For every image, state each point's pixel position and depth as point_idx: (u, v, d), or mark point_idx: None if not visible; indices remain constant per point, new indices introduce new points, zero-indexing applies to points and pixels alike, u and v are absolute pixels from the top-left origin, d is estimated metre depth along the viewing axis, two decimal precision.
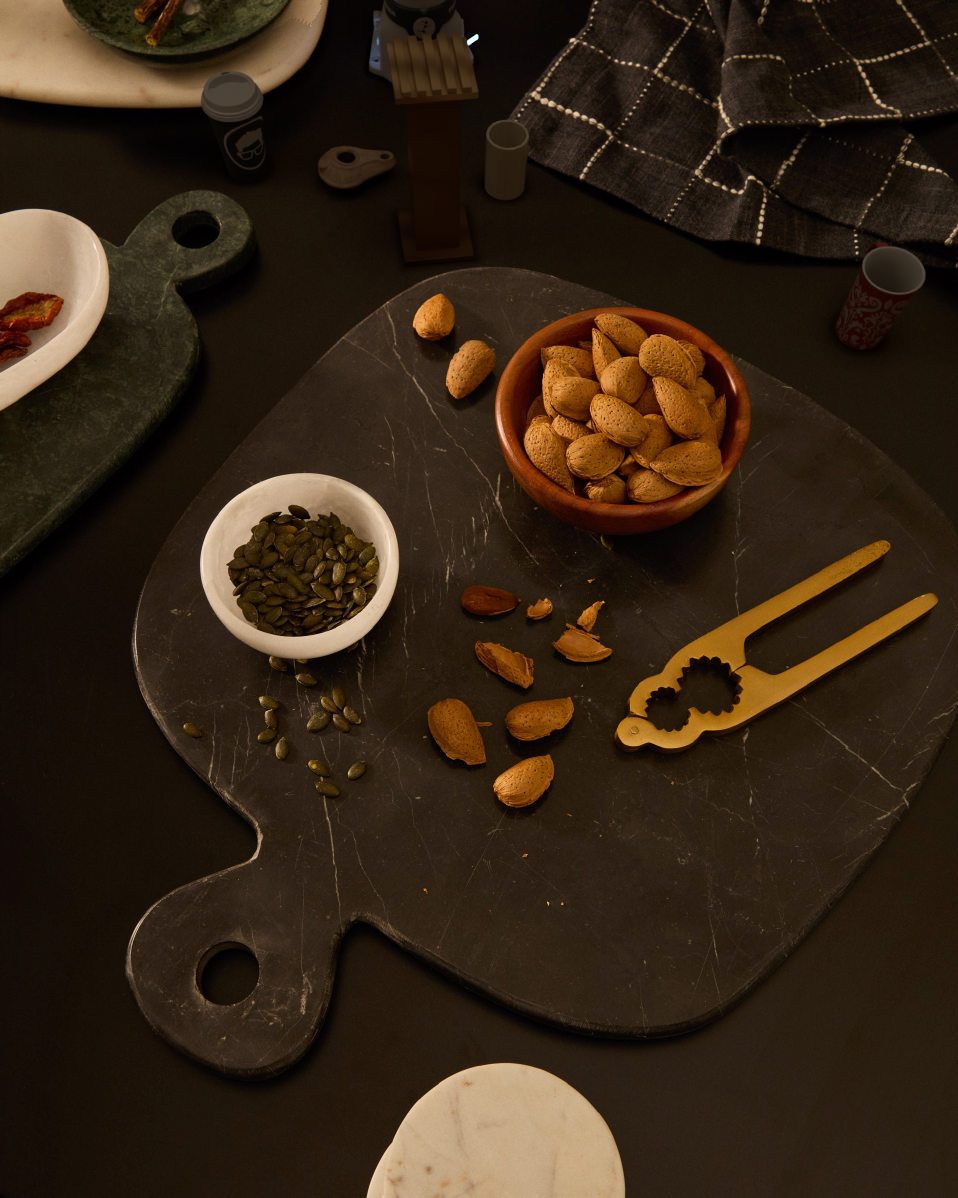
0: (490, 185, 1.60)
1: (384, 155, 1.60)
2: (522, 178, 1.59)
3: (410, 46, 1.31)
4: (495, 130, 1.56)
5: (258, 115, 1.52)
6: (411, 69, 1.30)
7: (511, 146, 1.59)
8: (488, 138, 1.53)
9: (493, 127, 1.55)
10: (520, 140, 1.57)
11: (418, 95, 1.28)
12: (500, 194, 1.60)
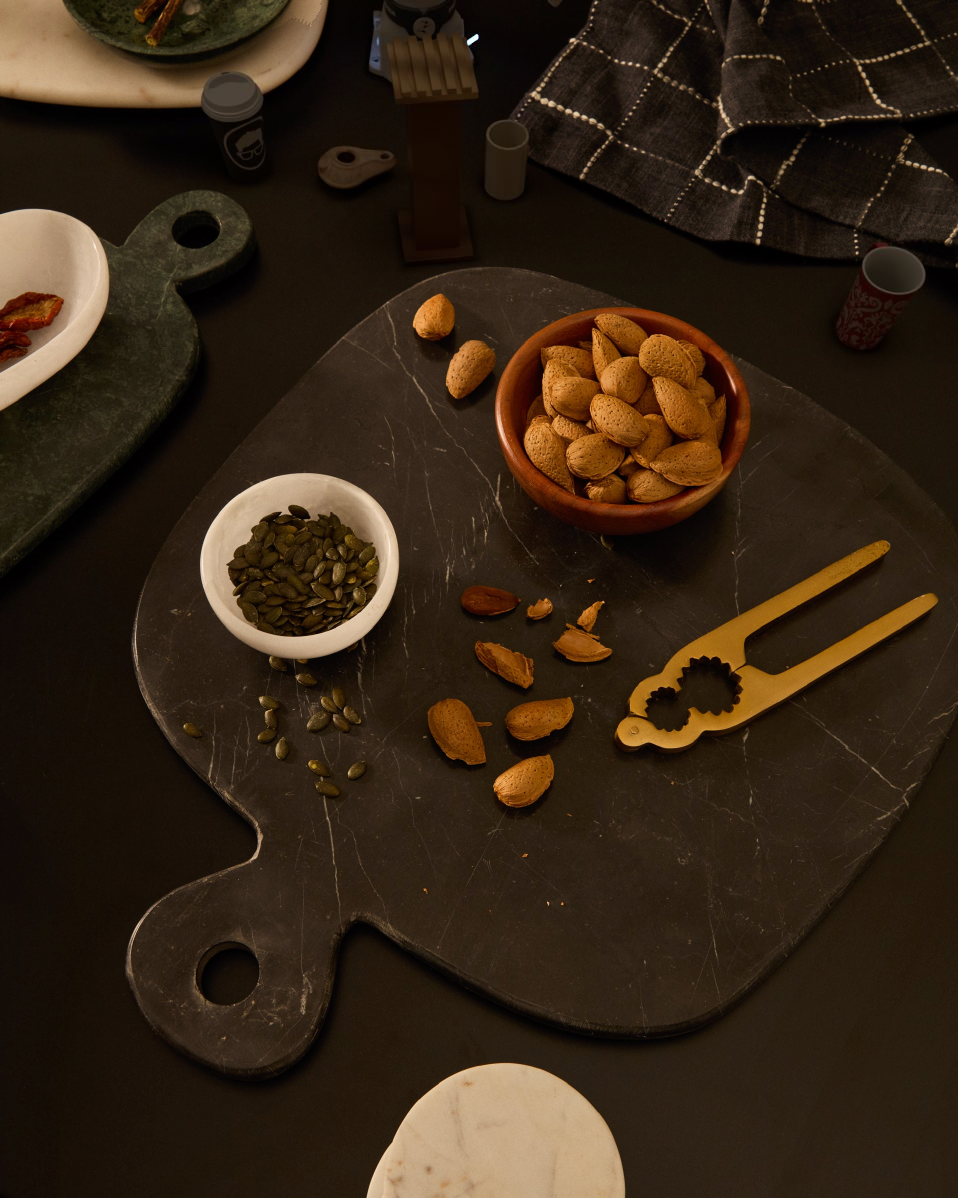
0: (490, 185, 1.60)
1: (384, 155, 1.60)
2: (522, 178, 1.59)
3: (410, 46, 1.31)
4: (495, 130, 1.56)
5: (258, 115, 1.52)
6: (411, 69, 1.30)
7: (511, 146, 1.59)
8: (488, 138, 1.53)
9: (493, 127, 1.55)
10: (520, 140, 1.57)
11: (418, 95, 1.28)
12: (500, 194, 1.60)
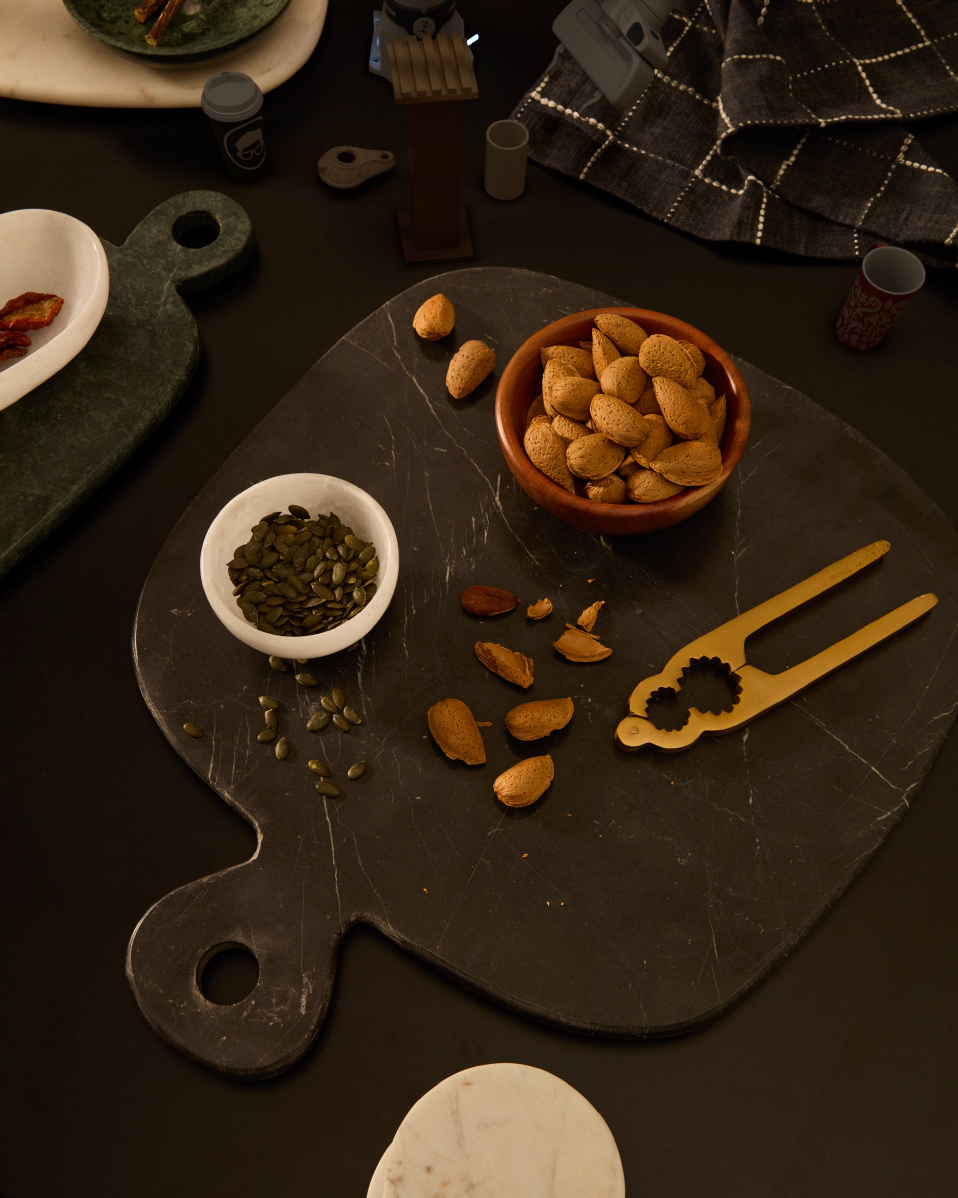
0: (490, 185, 1.60)
1: (384, 155, 1.60)
2: (522, 178, 1.59)
3: (410, 46, 1.31)
4: (495, 130, 1.56)
5: (258, 115, 1.52)
6: (411, 69, 1.30)
7: (511, 146, 1.59)
8: (488, 138, 1.53)
9: (493, 127, 1.55)
10: (520, 140, 1.57)
11: (418, 95, 1.28)
12: (500, 194, 1.60)
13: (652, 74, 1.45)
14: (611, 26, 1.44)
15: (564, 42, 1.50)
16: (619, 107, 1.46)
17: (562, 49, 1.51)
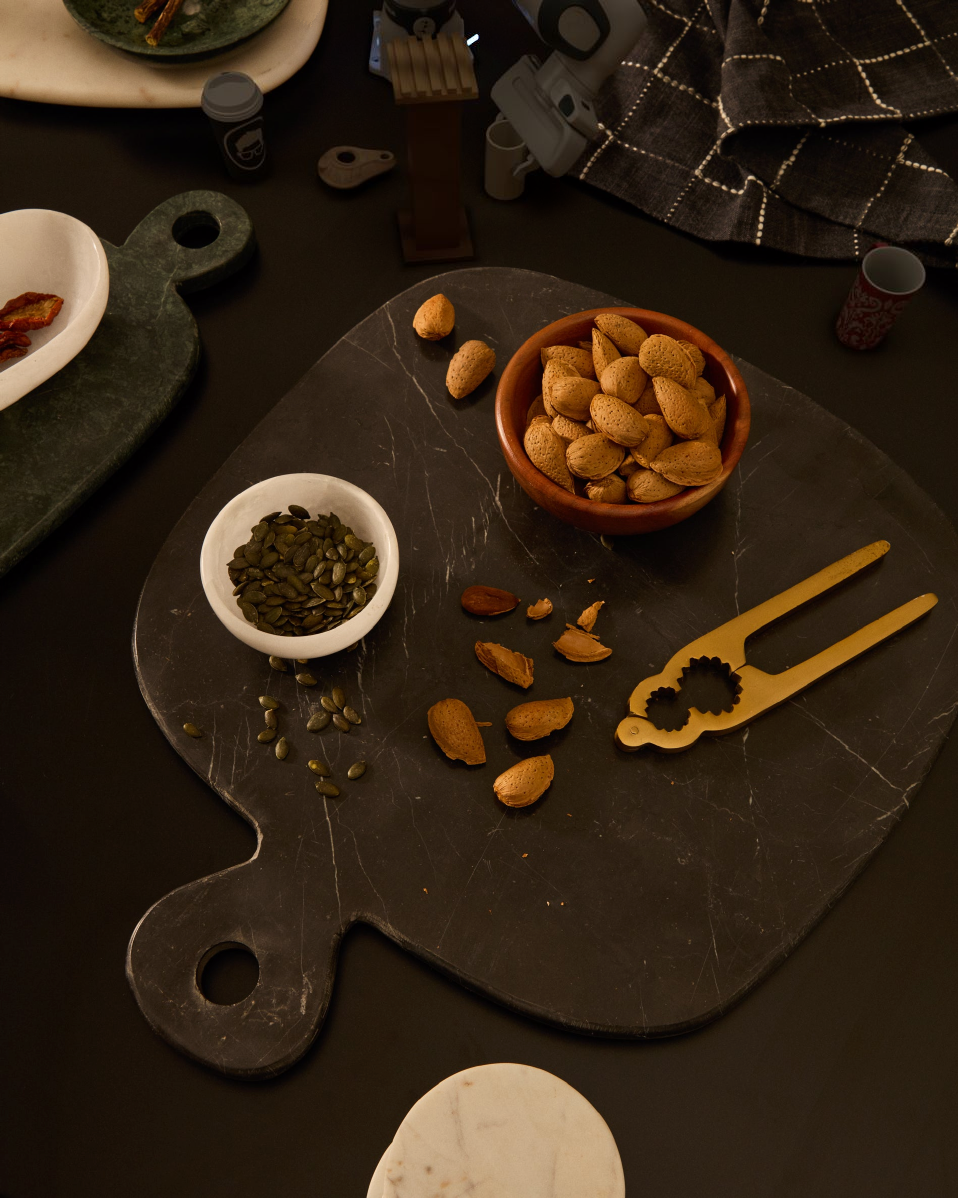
0: (490, 185, 1.60)
1: (384, 155, 1.60)
2: (522, 178, 1.59)
3: (410, 46, 1.31)
4: (495, 130, 1.56)
5: (258, 115, 1.52)
6: (411, 69, 1.30)
7: (511, 146, 1.59)
8: (488, 138, 1.53)
9: (493, 127, 1.55)
10: (520, 140, 1.57)
11: (418, 95, 1.28)
12: (500, 194, 1.60)
13: (584, 143, 1.50)
14: (544, 96, 1.49)
15: (501, 109, 1.56)
16: (553, 174, 1.51)
17: (502, 117, 1.57)
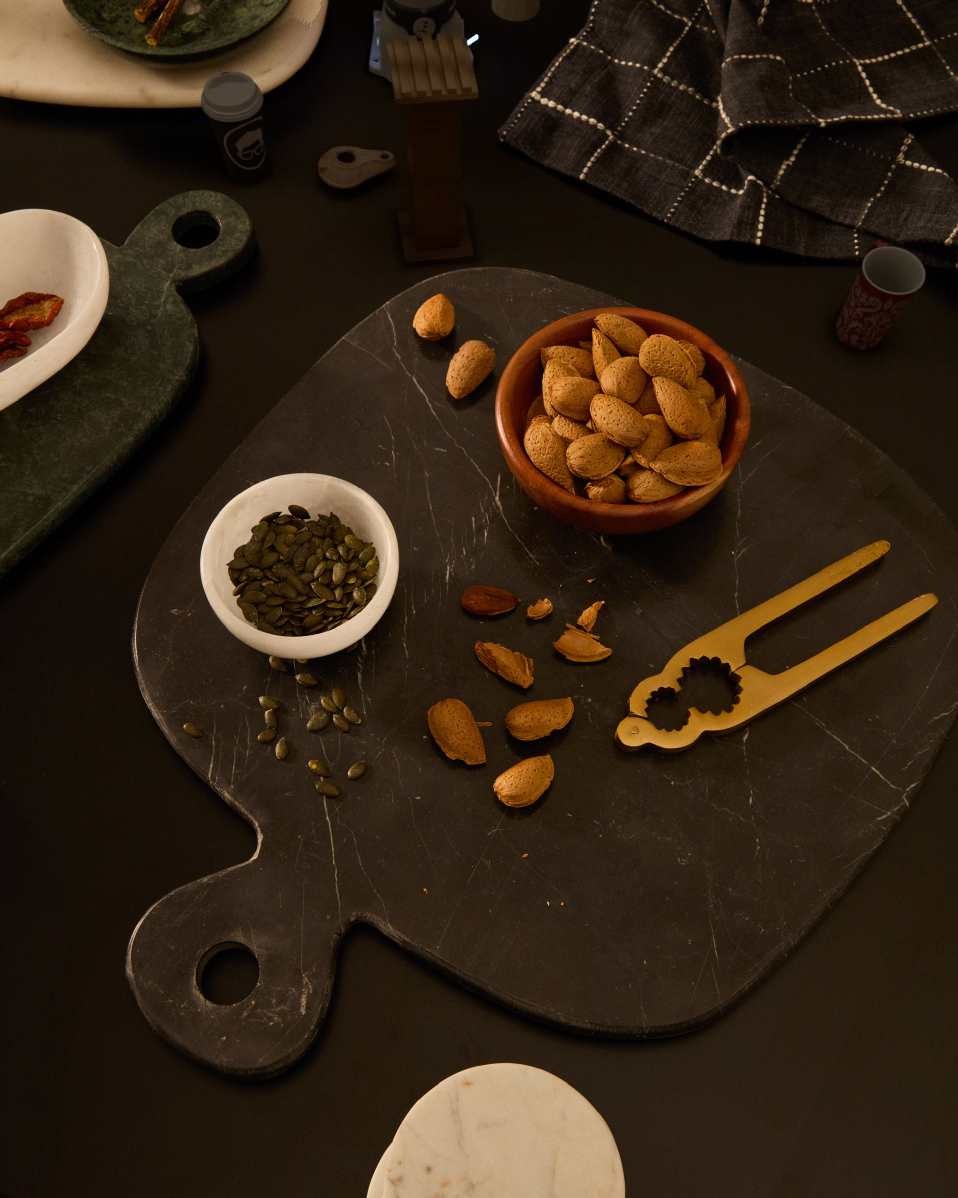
0: (498, 1, 1.32)
1: (384, 155, 1.60)
2: None
3: (410, 46, 1.31)
4: None
5: (258, 115, 1.52)
6: (411, 69, 1.30)
7: None
8: None
9: None
10: None
11: (418, 95, 1.28)
12: (510, 13, 1.32)
13: None
14: None
15: None
16: None
17: None
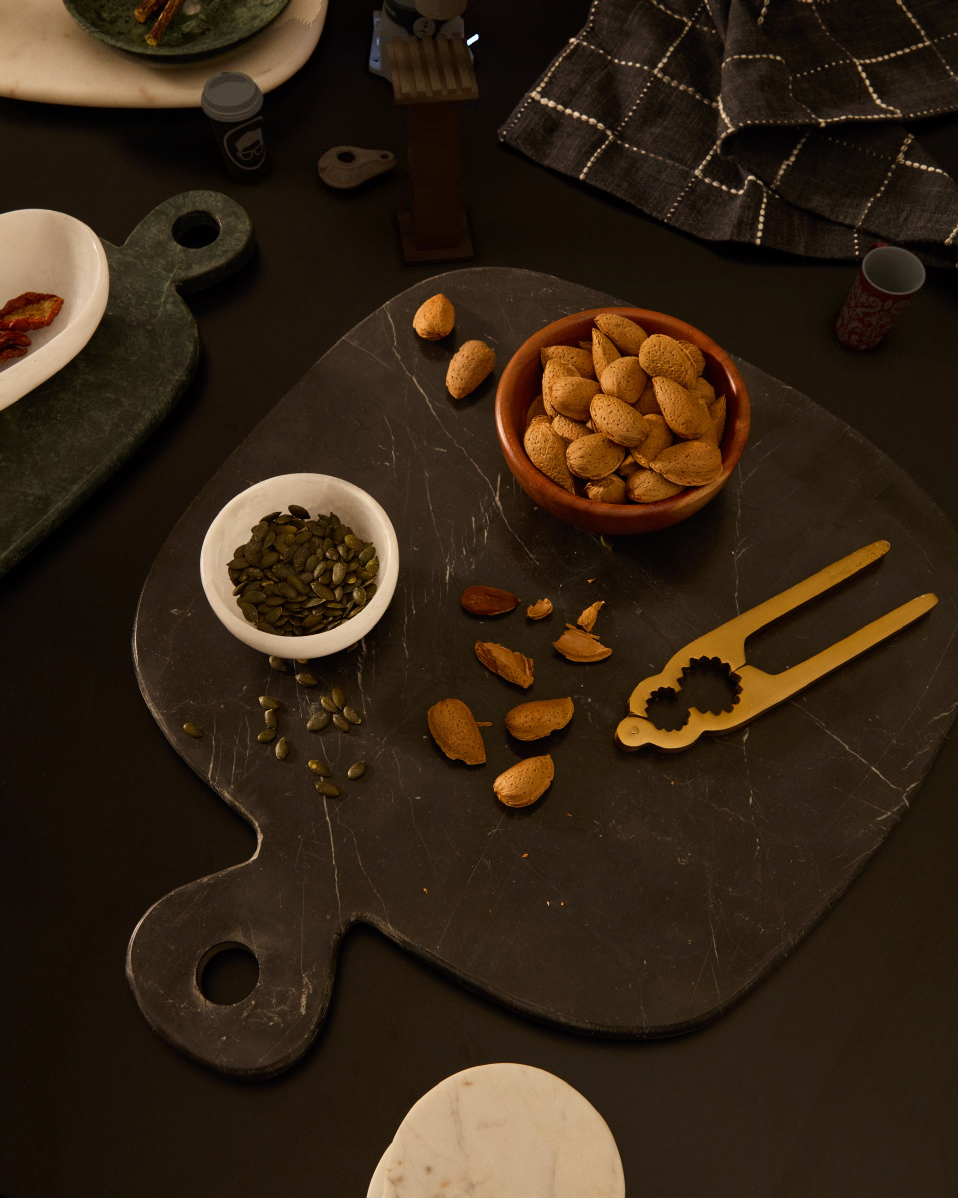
0: None
1: (384, 155, 1.60)
2: None
3: (410, 46, 1.31)
4: None
5: (258, 115, 1.52)
6: (411, 69, 1.30)
7: None
8: None
9: None
10: None
11: (418, 95, 1.28)
12: (434, 10, 1.21)
13: None
14: None
15: None
16: None
17: None
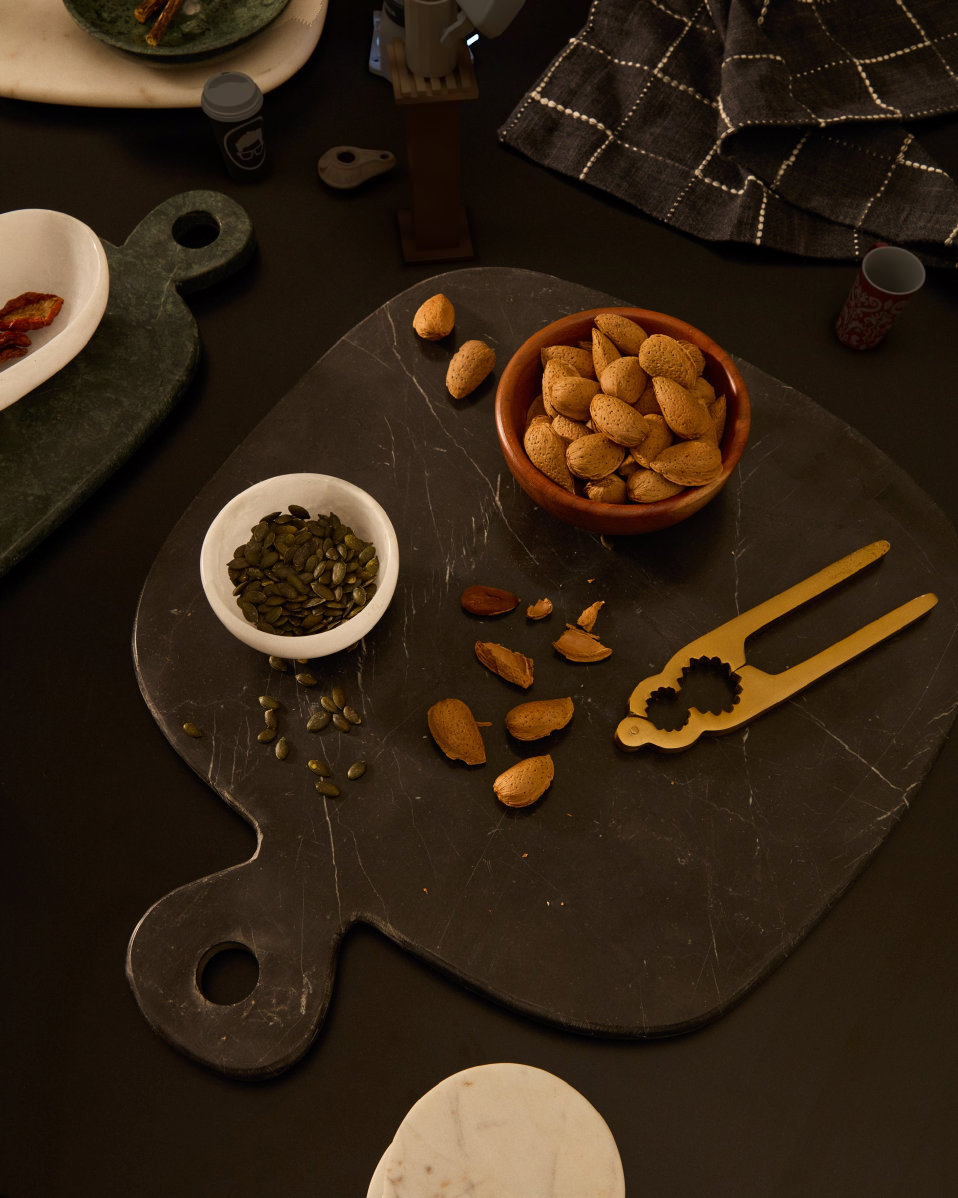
0: (412, 57, 1.27)
1: (384, 155, 1.60)
2: (452, 48, 1.26)
3: None
4: None
5: (258, 115, 1.52)
6: None
7: None
8: None
9: None
10: None
11: (418, 95, 1.28)
12: (425, 69, 1.27)
13: None
14: None
15: None
16: (486, 32, 1.18)
17: None
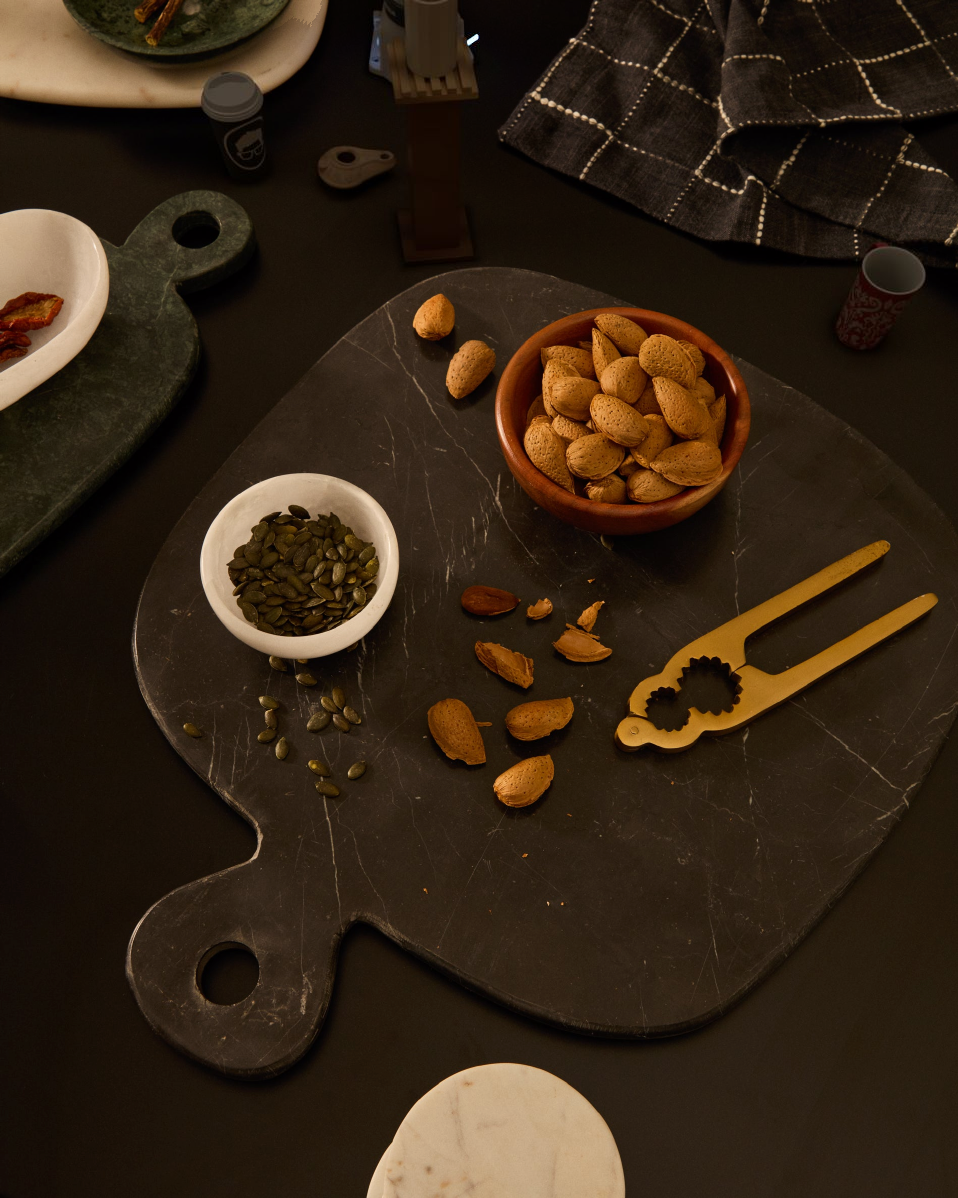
0: (412, 57, 1.27)
1: (384, 155, 1.60)
2: (452, 48, 1.26)
3: None
4: None
5: (258, 115, 1.52)
6: None
7: None
8: None
9: None
10: None
11: (418, 95, 1.28)
12: (425, 69, 1.27)
13: None
14: None
15: None
16: None
17: None
